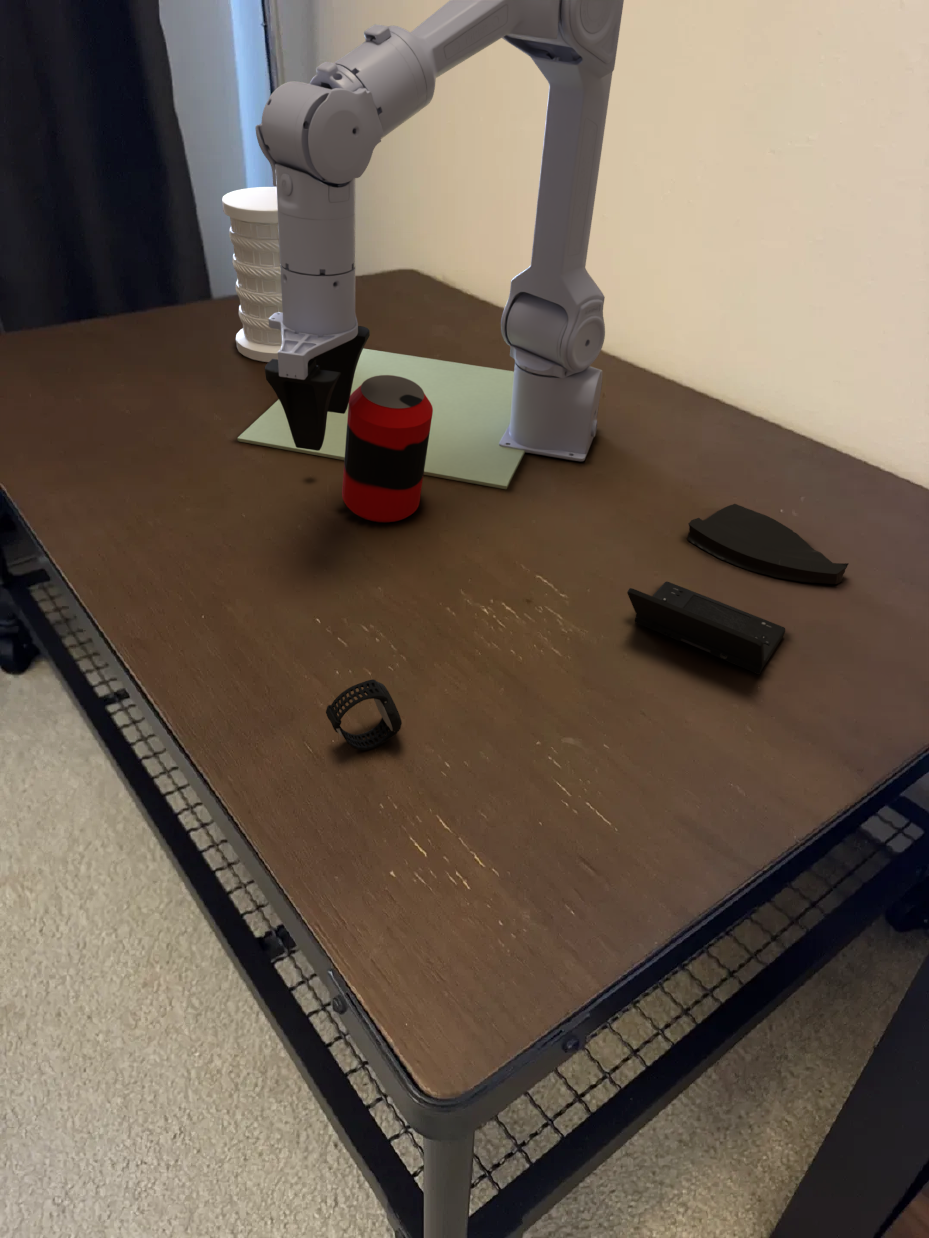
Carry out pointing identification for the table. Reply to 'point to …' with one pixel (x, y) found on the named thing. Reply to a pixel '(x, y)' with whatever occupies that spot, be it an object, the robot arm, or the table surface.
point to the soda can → (386, 448)
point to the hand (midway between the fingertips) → (322, 428)
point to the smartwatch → (384, 706)
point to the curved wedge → (762, 546)
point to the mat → (460, 424)
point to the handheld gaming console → (708, 625)
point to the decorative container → (256, 268)
